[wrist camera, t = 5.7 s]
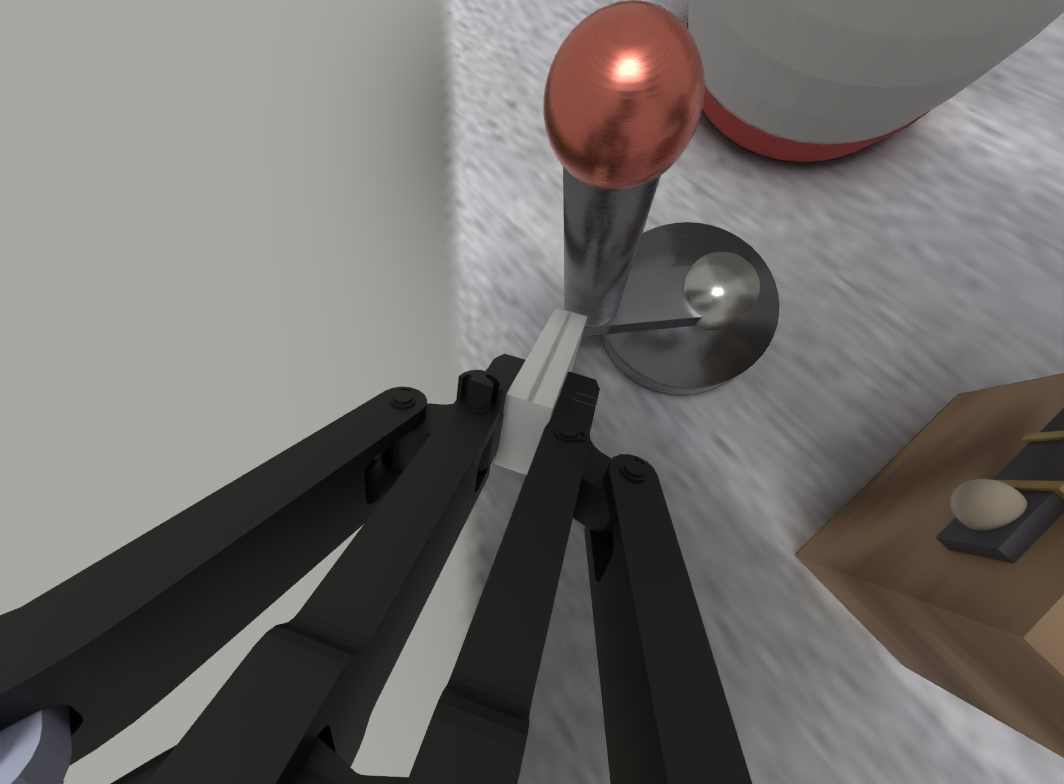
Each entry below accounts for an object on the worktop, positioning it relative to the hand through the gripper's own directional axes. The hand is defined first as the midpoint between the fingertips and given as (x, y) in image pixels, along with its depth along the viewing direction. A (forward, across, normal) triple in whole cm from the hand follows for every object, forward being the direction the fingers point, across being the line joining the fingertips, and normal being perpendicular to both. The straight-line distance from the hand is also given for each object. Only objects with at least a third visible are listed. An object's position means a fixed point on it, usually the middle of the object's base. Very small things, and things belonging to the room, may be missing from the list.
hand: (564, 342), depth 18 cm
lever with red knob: (+5, +4, 0) cm, 7 cm away
